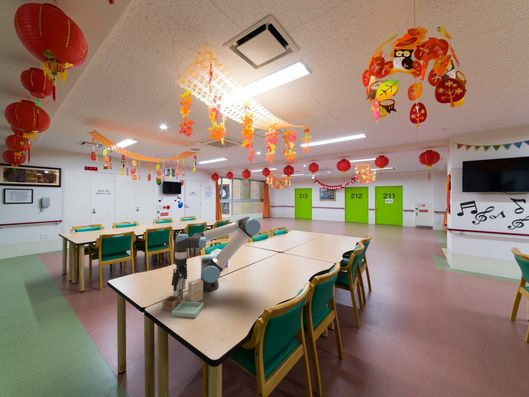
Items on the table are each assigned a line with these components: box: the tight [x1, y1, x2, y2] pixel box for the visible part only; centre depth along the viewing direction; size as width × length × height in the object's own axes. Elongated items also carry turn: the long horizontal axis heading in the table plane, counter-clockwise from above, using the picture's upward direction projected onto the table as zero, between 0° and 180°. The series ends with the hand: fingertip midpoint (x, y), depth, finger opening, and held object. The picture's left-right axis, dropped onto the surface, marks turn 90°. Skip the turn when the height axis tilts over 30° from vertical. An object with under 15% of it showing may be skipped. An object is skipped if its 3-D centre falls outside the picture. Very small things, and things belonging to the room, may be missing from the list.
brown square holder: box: [162, 295, 182, 312], centre depth 124 cm, size 8×8×5 cm
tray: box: [171, 300, 205, 319], centre depth 120 cm, size 12×14×2 cm
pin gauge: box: [178, 274, 184, 301], centre depth 134 cm, size 4×4×15 cm
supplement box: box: [187, 278, 204, 302], centre depth 132 cm, size 8×5×13 cm, turn 141°
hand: (179, 292), depth 133 cm, fingers open, 9 cm apart
